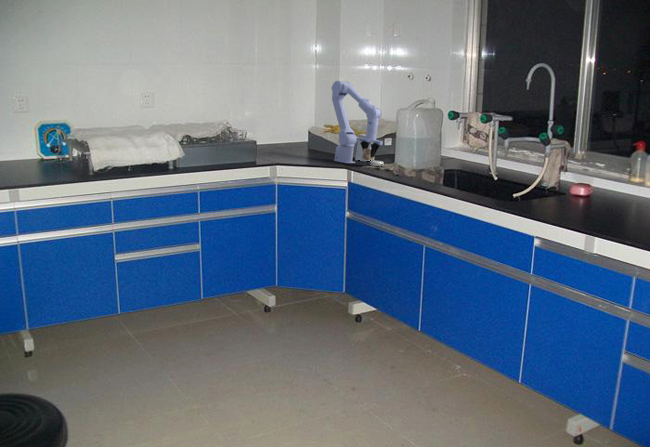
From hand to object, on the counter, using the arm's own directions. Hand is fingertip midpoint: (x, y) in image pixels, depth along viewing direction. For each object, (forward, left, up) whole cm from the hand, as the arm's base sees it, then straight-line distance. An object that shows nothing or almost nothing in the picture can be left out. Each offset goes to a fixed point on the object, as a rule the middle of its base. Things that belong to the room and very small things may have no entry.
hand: (368, 156), depth 364 cm
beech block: (0, 0, -2) cm, 2 cm away
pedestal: (0, +9, -6) cm, 11 cm away
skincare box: (-16, +18, -6) cm, 25 cm away
